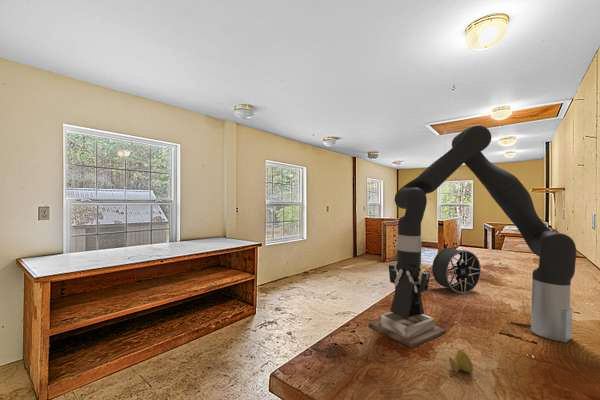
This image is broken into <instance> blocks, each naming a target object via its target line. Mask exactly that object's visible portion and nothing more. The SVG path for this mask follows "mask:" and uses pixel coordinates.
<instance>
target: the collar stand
mask: <svg viewBox="0 0 600 400" xmlns="http://www.w3.org/2000/svg"><path fill="white" fill-rule="evenodd" d="M368 327H370V328H371V329H374V330H376V331H377V332H378V333H379V332H380V333H381V334H383V335H385V336H387V337H390V338H391V339H393V340H394V341H396V342H399V343H400V344H403V345H405V346H406V347H409V348H410V349H413V348H415V347H417V346H419V345H422V344H424V343H425V342H428V341H431V340H433V339H435V338H437V337H440V336H443V335H444V334H446V333H447V332H446V331H447V330H446V329H444V328H442V327H440V326H437V325H436V318H434V317H431V316H428V315H426V314H425V313H424V314H422V315H418V316H414V317H410V318H406V319H405V318H403V317H401V316H399V315H397V314H395V313H393V312H391V311H389V312H385V313H382V314H379V315H378V319H376V320H373V321H371V322H368Z"/></svg>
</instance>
